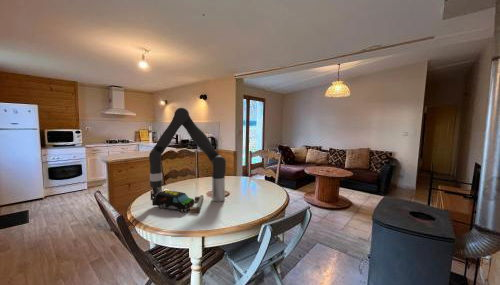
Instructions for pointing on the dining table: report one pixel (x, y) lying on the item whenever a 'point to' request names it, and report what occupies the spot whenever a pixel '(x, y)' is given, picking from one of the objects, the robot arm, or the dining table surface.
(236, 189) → the dining table surface
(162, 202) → the toy van
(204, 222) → the dining table surface
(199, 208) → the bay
